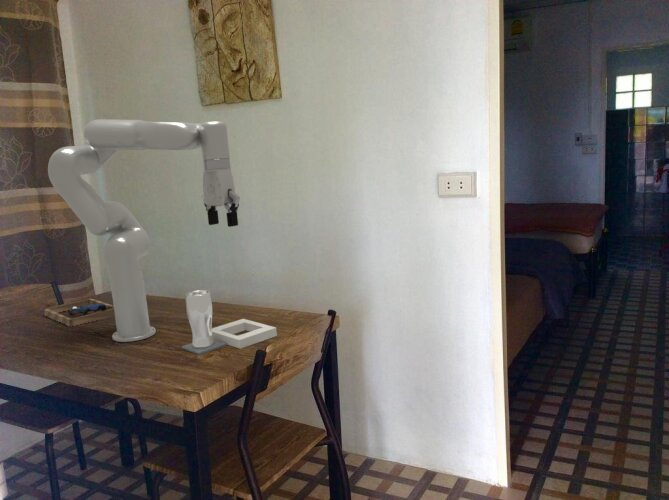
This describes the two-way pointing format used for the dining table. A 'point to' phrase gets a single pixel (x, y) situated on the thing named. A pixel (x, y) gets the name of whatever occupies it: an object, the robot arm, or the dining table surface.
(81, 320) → the frame
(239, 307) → the dining table surface
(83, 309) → the person figurine
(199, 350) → the coaster
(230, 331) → the holder board
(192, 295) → the beer glass
